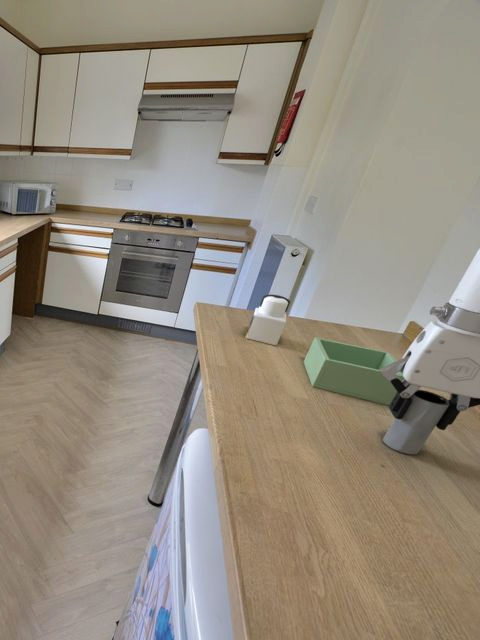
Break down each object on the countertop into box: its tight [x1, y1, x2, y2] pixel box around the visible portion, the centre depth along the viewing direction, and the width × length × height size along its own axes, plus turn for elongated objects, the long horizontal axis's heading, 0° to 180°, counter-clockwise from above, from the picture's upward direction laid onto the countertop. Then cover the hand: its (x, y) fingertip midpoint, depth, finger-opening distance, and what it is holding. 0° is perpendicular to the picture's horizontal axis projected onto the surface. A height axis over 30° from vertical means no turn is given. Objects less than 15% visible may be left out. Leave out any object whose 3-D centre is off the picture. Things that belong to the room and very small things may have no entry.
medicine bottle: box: [245, 294, 291, 346], centre depth 110 cm, size 7×7×12 cm
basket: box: [303, 336, 404, 407], centre depth 90 cm, size 14×14×7 cm
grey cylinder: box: [382, 389, 450, 456], centre depth 69 cm, size 4×4×10 cm
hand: (416, 419), depth 69 cm, fingers closed on grey cylinder, 4 cm apart
